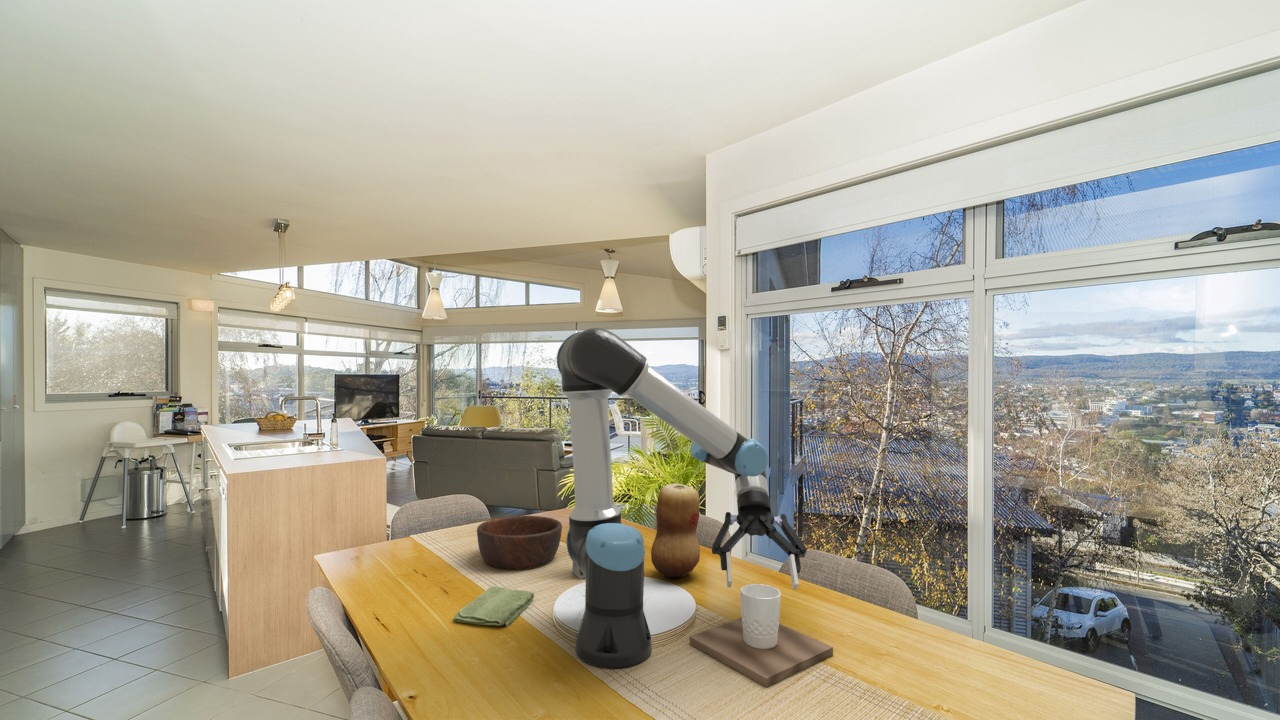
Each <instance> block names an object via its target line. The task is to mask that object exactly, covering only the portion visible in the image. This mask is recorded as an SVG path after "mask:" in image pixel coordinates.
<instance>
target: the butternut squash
mask: <svg viewBox="0 0 1280 720" xmlns="http://www.w3.org/2000/svg"><path fill="white" fill-rule="evenodd" d="M700 502H701V500H700V495H699V491H698V490H696V489H695V488H693V487H692V486H688V485H686V484H681V483H670V484H666V485H664V486H662V487H661V489H660V491H659V494H658V496H657V503H656V510H655V515H656V516H655V518H656V534H655V538H654V540H653V542H652V546H651V550H650V551H651V552H650V557H651V558H650V559H651V563H652V565H653V567H654V569H655V570H656V571H657V572H658V573H659V574H660V575H662V576H664V577H666V578H680V579H681V578H684V577H685V576H687V575H688V574H690V573H691V572H693V570H694V569H695V568H696V566H697V565H698V563H699V562H700V558H701V548H700V547H701V546H700V544H699V540H698V537H697V529H698V524H699V519H700V504H701V503H700Z"/></svg>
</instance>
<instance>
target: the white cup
mask: <svg viewBox="0 0 1280 720" xmlns="http://www.w3.org/2000/svg"><path fill="white" fill-rule="evenodd" d="M740 605H741V606H740V608H741V618H742V626H743V640H744V642H745V643H746V644H747V645H749V646H751V647H754V648H759V649H769V648H773V647H775V646H776V645H777V640H778V629H779V624H780V614H781V613H780V611H781V590H779V589H778V588H776V587H774V586H771V585H767V584H761V583H750V584H746V585H743V586H742V587H741V588H740Z"/></svg>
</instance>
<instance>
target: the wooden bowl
mask: <svg viewBox="0 0 1280 720" xmlns="http://www.w3.org/2000/svg"><path fill="white" fill-rule="evenodd" d="M562 530H563V525H562V522H561V521H559V520H557V519H555V518H551V517H547V516H539V515H515V516H514V515H513V516H511V515H510V516H503V517H502V516H501V517H497V518H493V519H489V520H487V521H484V522H482V523H480V524H479V525H478V526H477V528H476V536H477V543H478V544H477V545H478V549H479V553H480V555H481V557H482V560H483V561H484V563H486V564H487V565H488V566H490V567H492V568H495V569H500V570H527V569H528V570H529V569H533V568H538V567H541V566H544V565H547V564H548V563H550V562H551V561H552V560H553V559H554V557H555V556H556V554H557V551H558V549H559V546H560V542H561V538H562Z"/></svg>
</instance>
